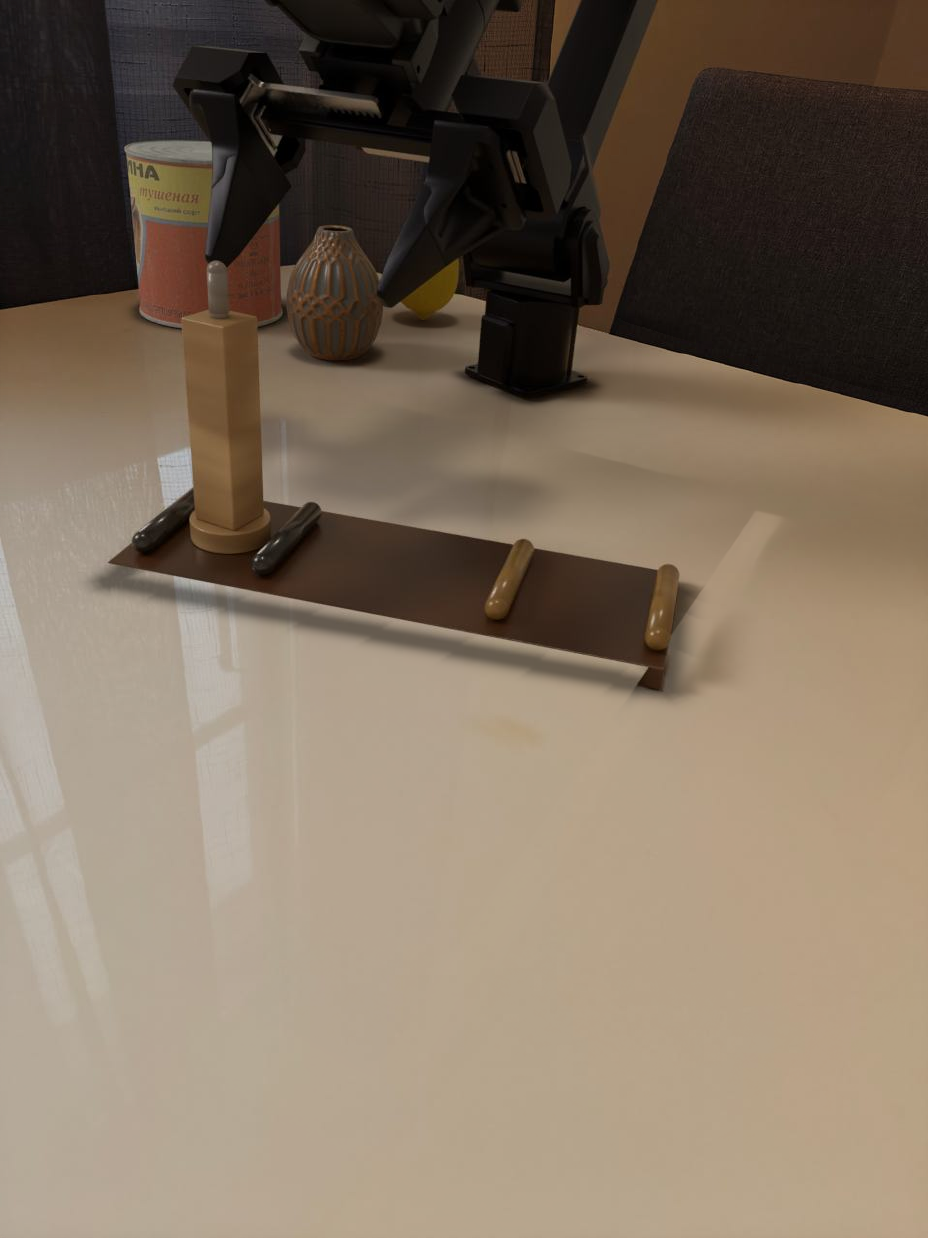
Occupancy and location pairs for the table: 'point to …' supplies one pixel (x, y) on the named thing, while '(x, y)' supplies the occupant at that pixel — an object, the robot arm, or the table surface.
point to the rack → (433, 580)
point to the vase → (334, 297)
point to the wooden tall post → (224, 424)
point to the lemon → (434, 292)
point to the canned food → (192, 238)
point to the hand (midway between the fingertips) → (294, 283)
